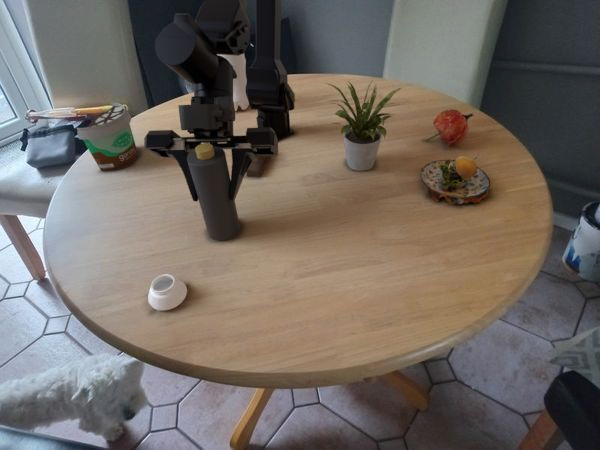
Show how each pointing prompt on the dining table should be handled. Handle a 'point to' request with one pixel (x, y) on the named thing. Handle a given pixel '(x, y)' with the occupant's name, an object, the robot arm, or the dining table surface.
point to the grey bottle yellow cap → (214, 191)
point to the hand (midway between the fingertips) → (213, 200)
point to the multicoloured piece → (455, 180)
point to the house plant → (363, 129)
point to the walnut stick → (257, 166)
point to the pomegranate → (451, 126)
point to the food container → (110, 139)
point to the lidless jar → (166, 292)
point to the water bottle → (239, 80)
